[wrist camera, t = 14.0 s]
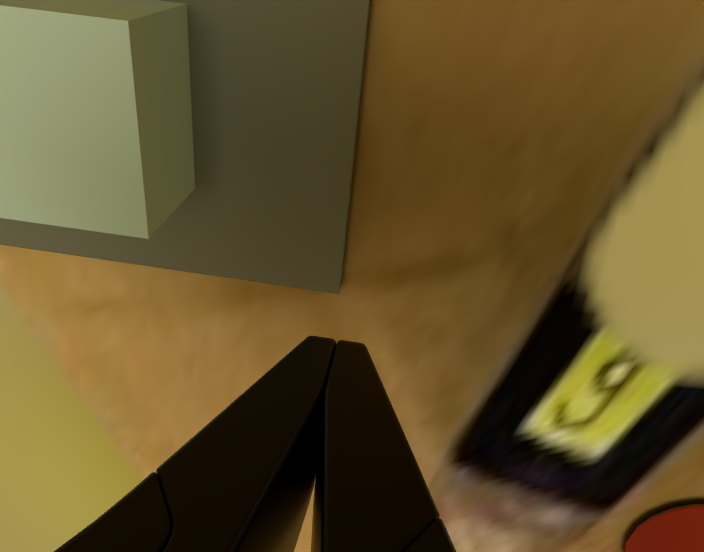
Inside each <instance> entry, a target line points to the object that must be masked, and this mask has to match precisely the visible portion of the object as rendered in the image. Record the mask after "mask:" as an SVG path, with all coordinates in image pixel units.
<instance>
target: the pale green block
mask: <svg viewBox="0 0 704 552" xmlns="http://www.w3.org/2000/svg"><path fill="white" fill-rule="evenodd" d="M194 189H195V173H194V152H193V130H192V108H191V86H190V65H189V43H188V21H187V4H185V3H177V2H169V1H160V0H0V218H4V219H12V220H19V221H26V222H33V223H40V224H47V225H54V226H61V227H68V228H75V229H82V230H89V231H96V232H103V233H110V234H117V235H124V236H131V237H138V238H146V239H149V238H150V237H151V236H152V235H153V234H154V233H155V232H156V230H157V229H158V228H159V227H160V226H161V225H162V224H163V223H164V222H165V221H166V220H167V218H168V217H169V216H170V215H171V214H172V213H173V212H174V211H175V210H176V209H177V208H178V206H179V205H180V204H181V203H182V202H183V201H184V200H185V199H186V198H187V197H188V196H189V194H190V193H191V192H192V191H193V190H194Z"/></svg>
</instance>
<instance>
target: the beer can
mask: <svg viewBox="0 0 704 552" xmlns="http://www.w3.org/2000/svg"><path fill="white" fill-rule="evenodd" d="M624 552H704V504H690V505H684V506H678V507H673V508H670V509H668V510H665V511H662V512H660V513H657V514H655V515H652V516H651V517H650V518H648V519H647V520H645V521H644V522H643V523H641V524H640V525H638V526H637V527H636V529H635V530H634V531H633V533H632V534H631V536H630V537H629V538H628V540H627V541H626V546H625V551H624Z"/></svg>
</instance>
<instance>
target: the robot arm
mask: <svg viewBox="0 0 704 552" xmlns="http://www.w3.org/2000/svg"><path fill="white" fill-rule="evenodd" d="M315 478H316V481H315ZM314 483H315V492H314V504H313V522H312V541H311V552H456V550H455V548H454V546H453V544H452V541H451V539H450V537H449V534H448V532H447V530H446V528H445V525H444V523H443V521H442V520H441V519H439V512H438V510H437V508H436V505H435V503H434V501H433V499H432V496H431V494H430V492H429V489H428V487H427V485H426V482H425V480H424V478H423V476H422V473H421V471H420V469H419V466H418V464H417V462H416V460H415V457H414V455H413V453H412V450H411V448H410V446H409V444H408V441H407V439H406V437H405V434H404V432H403V430H402V428H401V425H400V423H399V421H398V418H397V416H396V414H395V411H394V409H393V407H392V405H391V402H390V400H389V398H388V395H387V393H386V391H385V389H384V386H383V384H382V382H381V379H380V377H379V375H378V373H377V370H376V368H375V366H374V363H373V361H372V359H371V357H370V354H369V352H368V350H367V348H366V346H365V345H364V344H363V343H358V342H351V341H344V340H340V341H338V342H337V344H336V341H335V340H334V339H331V338H324V337H317V336H309V337H307V338H306V339H305V340H304V341H302V342H301V343H300V344H299V345H298V346H297V347H296V348H294V349H293V350H292V351H291V352H290V353H289V354H288V355H286V356H285V357H284V358H283V359H282V360H281V361H280V362H278V363H277V364H276V365H275V366H274V367H273V368H272V369H270V370H269V371H268V372H267V373H266V374H265V375H264V376H262V377H261V378H260V379H259V380H258V381H257V382H256V383H254V384H253V385H252V386H251V387H250V388H249V389H247V390H246V391H245V392H244V393H243V394H242V395H241V396H239V397H238V398H237V399H236V400H235V401H234V402H233V403H231V404H230V405H229V406H228V407H227V408H226V409H225V410H223V411H222V412H221V413H220V414H219V415H218V416H217V417H215V418H214V419H213V420H212V421H211V422H210V423H209V424H207V425H206V426H205V427H204V428H203V429H202V430H201V431H199V432H198V433H197V434H196V435H195V436H194V437H193V438H191V439H190V440H189V441H188V442H187V443H186V444H185V445H183V446H182V447H181V448H180V449H179V450H178V451H177V452H175V453H174V454H173V455H172V456H171V457H170V458H169V459H167V460H166V461H165V462H164V463H163V464H162V465H161V466H159V467H158V468H157V470H156V473H154V472H153V473H151V474H150V475H149V476H148V477H146V478H145V479H144V480H143V481H142V482H141V483H140V484H138V485H137V486H136V487H135V488H134V489H133V490H132V491H130V492H129V493H128V494H127V495H126V496H124V497H123V498H122V499H121V500H120V501H118V502H117V503H116V504H115V505H114V506H112V507H111V508H110V509H109V510H108V511H106V512H105V513H104V514H103V515H101V516H100V517H99V518H98V519H97V520H95V521H94V522H93V523H91V524H90V525H89V526H87V527H86V528H85V529H83V530H82V531H81V532H79V533H78V534H77V535H75V536H74V537H73V538H71V539H70V540H69V541H67V542H66V543H65V544H63V545H62V546H61V547H59V548H58V549H57V550H56V551H54V552H294V549H295V546H296V543H297V540H298V537H299V534H300V530H301V527H302V524H303V521H304V518H305V515H306V511H307V508H308V505H309V502H310V498H311V495H312V491H313V488H314Z"/></svg>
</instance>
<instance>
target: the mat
mask: <svg viewBox="0 0 704 552" xmlns="http://www.w3.org/2000/svg"><path fill="white" fill-rule="evenodd" d="M160 1H169V2H177V3H185V4H187V21H188V43H189V65H190V86H191V108H192V130H193V152H194V173H195V189H194V190H193V191H192V192H191V193H190V194H189V196H188V197H187V198H186V199H185V200H184V201H183V202H182V203H181V204H180V205H179V206H178V208H177V209H176V210H175V211H174V212H173V213H172V214H171V215H170V216H169V217H168V218H167V220H166V221H165V222H164V223H163V224H162V225H161V226H160V227H159V228H158V229H157V230H156V232H155V233H154V234H153V235H152V236H151V237H150V238H149V239H146V238H138V237H131V236H124V235H117V234H110V233H103V232H96V231H89V230H82V229H75V228H68V227H61V226H54V225H47V224H40V223H33V222H26V221H19V220H12V219H4V218H0V245H7V246H14V247H21V248H28V249H35V250H41V251H48V252H55V253H62V254H69V255H76V256H83V257H90V258H97V259H104V260H110V261H117V262H124V263H131V264H138V265H145V266H152V267H159V268H166V269H173V270H180V271H186V272H193V273H200V274H207V275H214V276H221V277H228V278H235V279H242V280H249V281H255V282H262V283H269V284H276V285H283V286H290V287H297V288H304V289H311V290H318V291H325V292H331V293H338V294H339V292H340V288H341V283H342V273H343V264H344V254H345V244H346V234H347V225H348V215H349V205H350V196H351V186H352V176H353V167H354V157H355V147H356V138H357V128H358V118H359V108H360V99H361V89H362V79H363V70H364V60H365V50H366V41H367V31H368V21H369V12H370V2H371V0H160Z"/></svg>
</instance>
